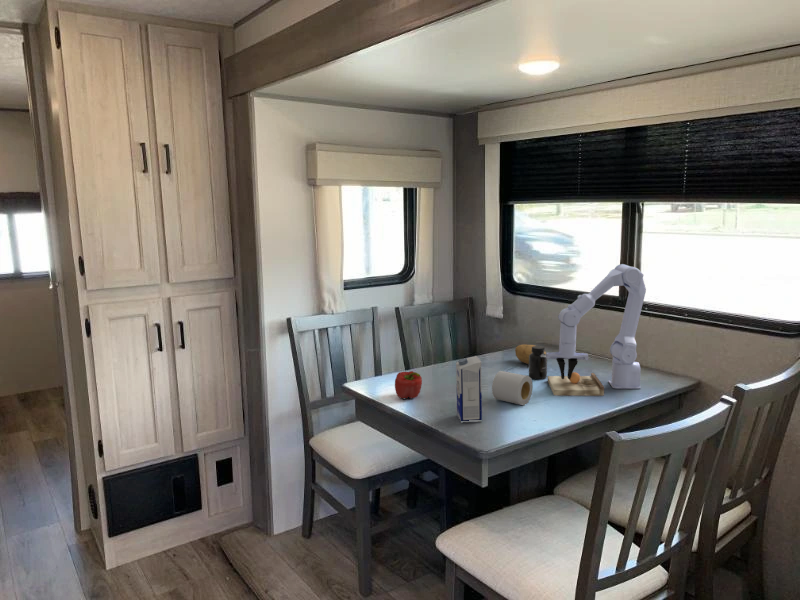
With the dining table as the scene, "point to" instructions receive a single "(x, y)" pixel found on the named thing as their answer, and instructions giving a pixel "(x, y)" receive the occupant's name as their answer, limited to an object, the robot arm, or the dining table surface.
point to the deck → (576, 386)
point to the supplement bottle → (537, 363)
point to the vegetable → (408, 384)
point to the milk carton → (469, 389)
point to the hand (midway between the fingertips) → (565, 378)
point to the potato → (524, 352)
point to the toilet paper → (512, 387)
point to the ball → (575, 377)
